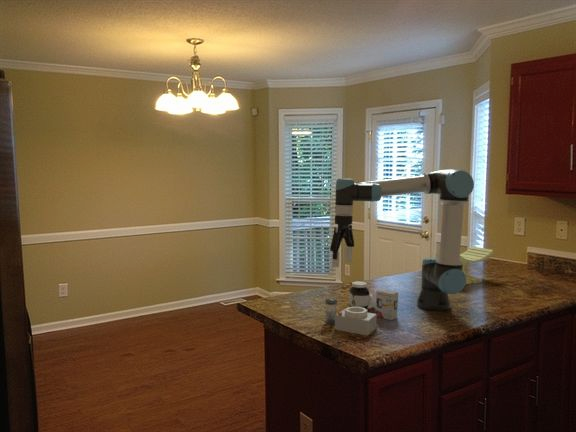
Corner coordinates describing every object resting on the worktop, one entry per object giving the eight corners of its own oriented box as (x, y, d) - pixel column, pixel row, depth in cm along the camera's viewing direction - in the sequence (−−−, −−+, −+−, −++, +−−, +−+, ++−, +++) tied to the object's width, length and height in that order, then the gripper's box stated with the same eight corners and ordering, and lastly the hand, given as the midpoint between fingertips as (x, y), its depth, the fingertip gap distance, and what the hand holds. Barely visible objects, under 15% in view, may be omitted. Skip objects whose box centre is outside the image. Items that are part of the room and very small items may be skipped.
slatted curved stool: (468, 274, 299) (470, 245, 297) (491, 280, 286) (493, 249, 284) (434, 280, 283) (436, 250, 281) (457, 286, 270) (459, 254, 268)
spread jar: (346, 305, 232) (346, 281, 231) (366, 302, 237) (367, 279, 236) (359, 312, 222) (360, 287, 220) (380, 309, 226) (381, 285, 225)
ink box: (374, 316, 215) (375, 290, 214) (380, 314, 219) (381, 288, 218) (392, 321, 210) (393, 294, 209) (397, 318, 214) (398, 291, 212)
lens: (338, 322, 208) (338, 299, 207) (333, 325, 204) (334, 301, 203) (328, 320, 210) (328, 297, 209) (323, 323, 206) (323, 300, 205)
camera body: (376, 328, 200) (376, 309, 199) (367, 335, 192) (368, 315, 191) (344, 322, 207) (344, 304, 206) (334, 329, 198) (335, 310, 198)
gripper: (347, 212, 221) (345, 258, 223) (322, 216, 199) (321, 267, 201) (362, 213, 217) (360, 260, 219) (339, 217, 196) (338, 270, 198)
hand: (342, 264), depth 210 cm, fingers open, 13 cm apart
